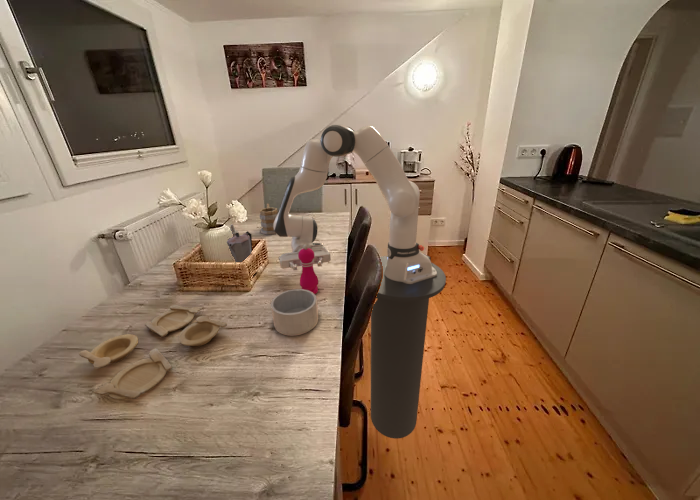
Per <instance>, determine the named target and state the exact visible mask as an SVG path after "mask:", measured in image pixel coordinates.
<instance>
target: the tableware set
mask: <svg viewBox="0 0 700 500" xmlns="http://www.w3.org/2000/svg"><path fill="white" fill-rule="evenodd" d="M201 310H203V307H202V306H192V307H187V306H180V305H175V304H173V305H170V306H169V309H168V310H165V311H163V312H161V313H159V314H158V315H157V316H155V317H154V318H153V319H152V320H151V321H145V322H144V326H145V327H147V328H148V329H149V330H150V332H152V333H155V334H156V335H158V336H160V337H161V338H164V337H166V336H167V335H168V334H169V333H171V332H175V331H178V330H180V329H182V328H184V327H185V326H186V327H185V328H184V329H183V330H181V332H180V333H179V335H178V337H177V340H178V342H179V344H180V345H183V346H185V347H201V346H204V345H207V344H208V343H209V342H210V341H212V339H214V337H215V336H216V335H217V334H218V333H219V332H220V328H226V327H227V326H228V323H227V322H226V321H221V320H215V319H210V317H209V316H208V315H206V314H205V315H200V316H197V318H196V319H195V321H196V322H193V323H191V322H192V321H193V319H194V318H195V314H197V313H199V312H200V311H201ZM190 323H191V324H190ZM188 324H189V325H188ZM187 325H188V326H187ZM138 344H139V337H138V336H137V335H136V334H132V333H131V334H130V333H127V334H126V333H125V334H121V335H116V336H114V337H111V338H108V339H107V340H105V341H102V342H101V343H100V344H98V345H96V346H95V347H94V348H92V349H91V351H88V350H85V349H83V350H80V351H79V352H78V355H79V357H82V358H84V359H86V360H87V361H88V363H90V365H91V364H92V365H93V367H94V368H96V369H100V368H104V367H106V366H108V365H113V364H116V363H118V362H120V361H122V360H124V359H126V358H127V357H128V356H129V355H130V354H131V352H132V351H133V350H134V349H135V348H136V347H137V345H138ZM148 356H149V357H147V358H143V359H140V360H137V361H135V362H132V363H131V364H129V365H126V366H125V367H124V368H123V369H121V370H120V371H118V372H117V373H116V374H115V375H114V376H113V377H112V378H111V380H110V382H109V383H108V382H103V383H102V384H101V386H98V387H97V389H95V390H93V392H92V393H93V394H95V395H101V396H105V395H108V396H109V397H110V398H112V399H114V400H128V399H132V400H135V399H138V398H139V397H140V396H141V395H142V394H145V393H146V392H148V391H151V390H152V389H153V388H154V387H156V386H157V385H158V384H159V383H160V382H162V380H163V379H164V378H165V376H166V374H167V373H168V372H169V371H170V370H172V369H173V366H172V364H171V362H169V360H167V358H166V357H165V356H164V355H163V354H162V353H161V352H160V350H159V349H158V348H157V347H156V348H153V349H151V350H150V351H149V352H148Z"/></svg>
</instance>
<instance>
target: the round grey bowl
mask: <svg viewBox="0 0 700 500" xmlns="http://www.w3.org/2000/svg"><path fill="white" fill-rule="evenodd" d="M270 310H271V315H272V321H273V326H274V329H275V331H277V332H278V334H281V335H284V336H289V337H290V336H293V337H295V336H300V335H303V334H306V333H308V332H310V331H311V330H313V329H314V328H315V327H316V326H317V324H318V323H319V310H318V298H317V295H316V294H314V293H313V292H311V291H309V290H304V289H302V288H294V289H288V290H284V291H282V292H280V293H278V294H277V295H276V296H274V297H273V298H272V300H271V302H270Z"/></svg>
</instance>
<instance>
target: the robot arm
mask: <svg viewBox="0 0 700 500" xmlns="http://www.w3.org/2000/svg"><path fill="white" fill-rule="evenodd" d="M352 153H354V154H356V155H357V156H358V157H359V158H360V160H361V161H362V163H363V165H364V166H365V168H366V169H367V170H368V172H369V174H370V175H371V176H372V178H373V179H374V182H375V183H376V185H377V186H378V188H379V191H380V193H381V195H382V197H383V198H384V200H385V202H386V205H387V206H388V209H389V211H390V216H389V217H390V218H389V225H388V227H389V228H388V229H389V230H388V243H387V249H386V250H387V251H386V253H387V256H388V260H387V265H386V269H385V271H384V274H385V276H386V277H387V278H389V279H391V280H394V281H399V282H404V283H407V284H413V283H416V282H419V281H422V280H425V279H429V278H432V277H435V276H437V272H436V270H435V269H434V268H433V267H432V264H431V263H432V260H431V259H432V257H431V256H429V255H427V254H426V253H423V251H424V250H425V246H424V245H422V244H419V243H418V242H417V235H418V233H417V232H418V221H419V209H420V197H421V196H420V195H421V193H420V189H419V188H420V187H419V186H418V185H417V183H415V182H414V181H411V180H409V178H408V177H407V174H406V173H405V170H404V169H403V167H402V164H401V162H400V161H399V159H398V158H397V156H396V154H395V153H394V152H393V150H392V149H391V147H390V146H389V144H388V142H387V141H386V140H385V139H384V137H383V136H382V135H381V134H380V133H379V132H378V130H377V129H375V127H374V126H371V125H365V126H362V127H360V128H359V129H357V130H356V131H355V130H354V129H353V128H352V127H350V126H347V125H344V124H332V125H329V126H327V127H326V128H325V129H323V132H322V133H321V135H320V138H311V139H309V140H308V141H307V142H306V143H305V147H304V149H303V153H302V156H301V161H300V167H299V170H298V172H297V173H296V174H295V175H294V176H292V177H291V178H290V179H289V181H288V183H287V185H286V188H285V191H284V194H283V196H282V197H283V198H282V200H281V202H280V205H279V209H278V210H277V211H278V214H277V216H276V218H275V220H274V225H273V227H274V231H275V233H276V234H275V235H277V236H278V237H280V238H288V237H289V238H291V240H290V241H291V242H290V247H291V250H292V251H291V252H284V253H282V254H280V255H279V256H278V261H279V266H280V268H281V269H292V270H293V271H298V267H302V266H301V263H300V261H301V260H300V259H299V257H298V254H299V251H300V250H301V249H303V246H304V245H307V246H308V248H310V249H312V250H313V252H314V259H313V260H314V264H313V265H317V267H319V268H320V267H322V266H323V264H324V263H330V262H331V259H332V258H331V252H330V251H329V249H328V248H327V247H326V246H325V245H324V243H322V242H315V241H316V239H317V236H318V223H317V221H316V219H315V218H313V217H312V216H308V215H296V214H291V213H290V211H291V208H292V205H293V202H294V199H295V198H296V197H297V196H299V195H302V194H304V193H308V192H313V191H316V190H317V191H318V190H319V189H320V188H322V187H323V186H324V185H325V184H326V181H327V177H328V173H329V167H330V163H331V160H332V158H333V157H334V158H335V157H336V158H338V157H345V156H348V155H349V154H352Z"/></svg>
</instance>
